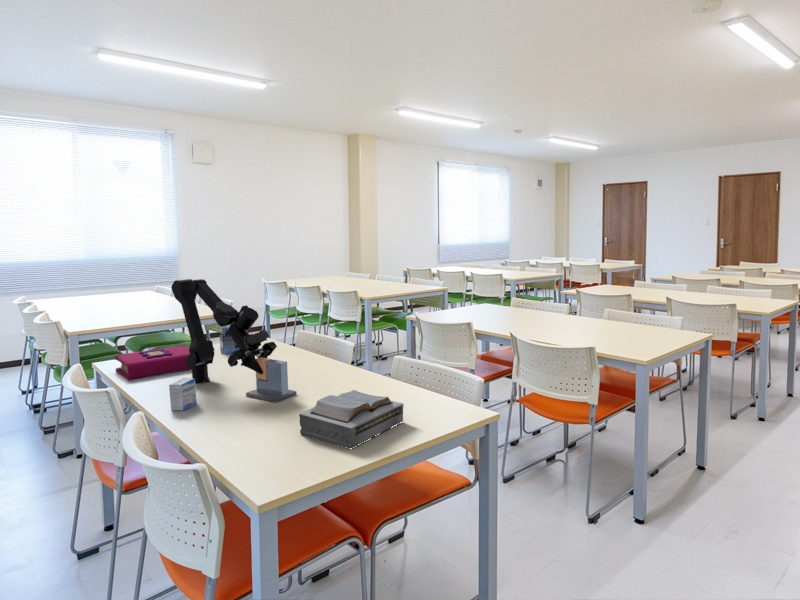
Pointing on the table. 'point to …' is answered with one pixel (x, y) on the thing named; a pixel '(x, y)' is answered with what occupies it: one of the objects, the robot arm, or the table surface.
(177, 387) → the medicine box
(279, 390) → the stand
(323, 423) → the bible
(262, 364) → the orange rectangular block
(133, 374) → the book
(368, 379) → the table surface
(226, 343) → the label tape cartridge
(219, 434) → the table surface
